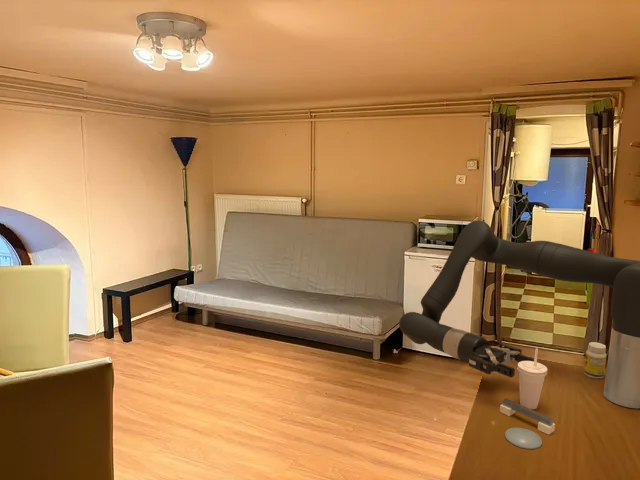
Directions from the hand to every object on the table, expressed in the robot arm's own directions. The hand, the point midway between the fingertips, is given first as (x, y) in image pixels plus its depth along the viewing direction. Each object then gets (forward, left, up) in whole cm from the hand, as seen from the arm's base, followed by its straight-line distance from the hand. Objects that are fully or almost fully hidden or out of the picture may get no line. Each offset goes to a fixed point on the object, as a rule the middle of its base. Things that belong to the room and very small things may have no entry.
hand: (523, 368), depth 115 cm
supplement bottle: (-26, +12, -9) cm, 30 cm away
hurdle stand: (+8, +3, -8) cm, 12 cm away
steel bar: (+8, +3, -7) cm, 11 cm away
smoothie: (+1, +2, -9) cm, 9 cm away
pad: (+16, +4, -8) cm, 18 cm away
